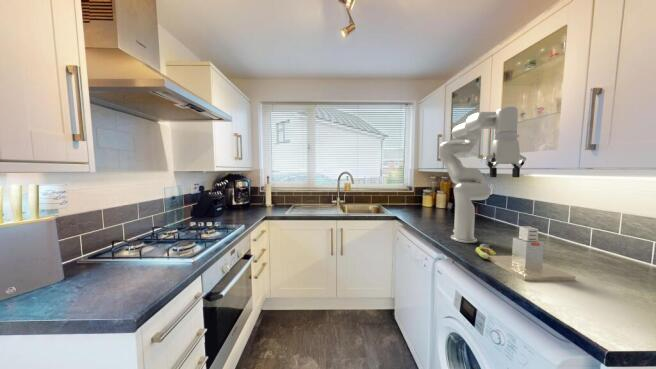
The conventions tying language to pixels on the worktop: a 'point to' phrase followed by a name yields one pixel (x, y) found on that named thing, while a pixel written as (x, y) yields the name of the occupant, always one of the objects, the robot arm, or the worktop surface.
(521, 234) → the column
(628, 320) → the worktop surface
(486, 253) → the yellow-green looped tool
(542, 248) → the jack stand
